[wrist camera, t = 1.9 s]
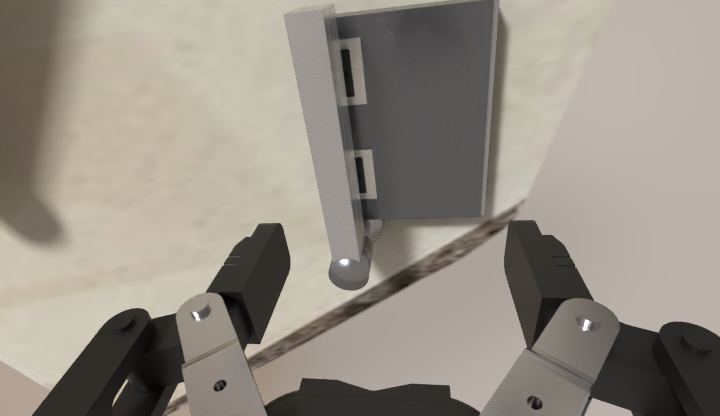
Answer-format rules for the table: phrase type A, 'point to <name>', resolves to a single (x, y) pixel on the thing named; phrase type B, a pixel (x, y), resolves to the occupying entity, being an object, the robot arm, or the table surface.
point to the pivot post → (373, 228)
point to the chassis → (421, 106)
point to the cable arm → (330, 140)
